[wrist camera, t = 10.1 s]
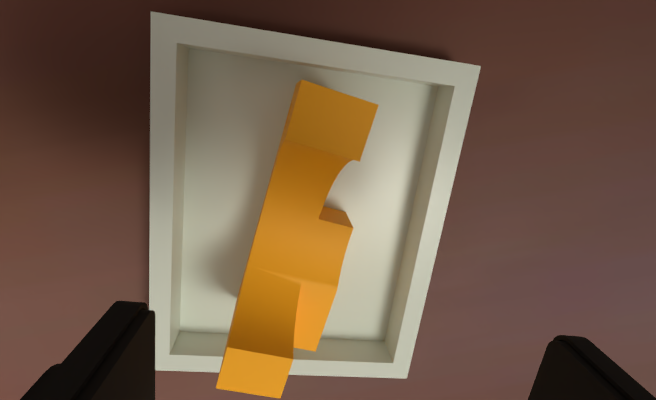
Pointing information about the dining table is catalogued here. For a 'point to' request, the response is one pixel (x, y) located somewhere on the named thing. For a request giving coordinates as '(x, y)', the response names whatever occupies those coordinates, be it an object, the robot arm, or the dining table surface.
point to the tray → (254, 174)
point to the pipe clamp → (295, 242)
